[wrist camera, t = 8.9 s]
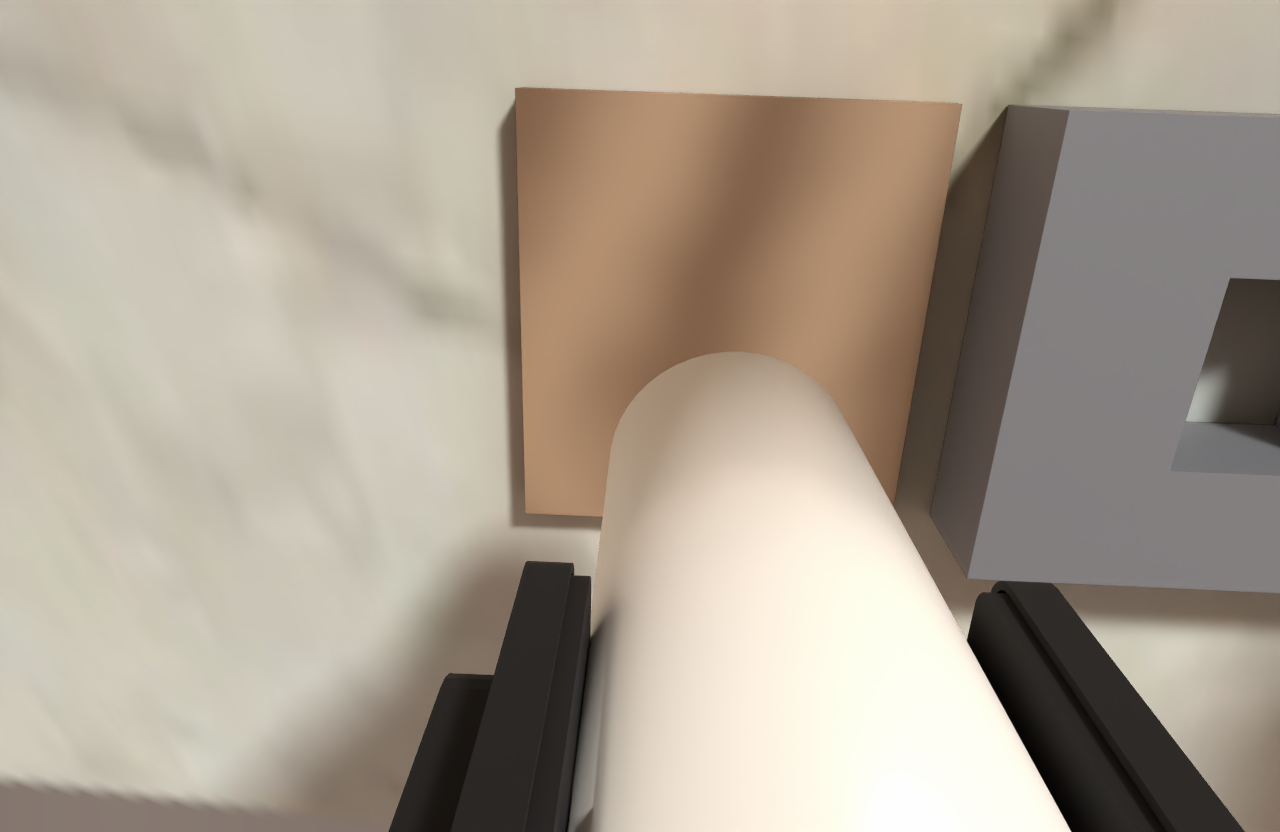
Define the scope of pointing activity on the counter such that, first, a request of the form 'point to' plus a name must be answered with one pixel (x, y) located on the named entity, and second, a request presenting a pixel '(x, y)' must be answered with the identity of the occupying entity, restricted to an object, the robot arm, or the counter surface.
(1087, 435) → the socket block
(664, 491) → the plug
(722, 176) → the board
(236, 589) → the counter surface
